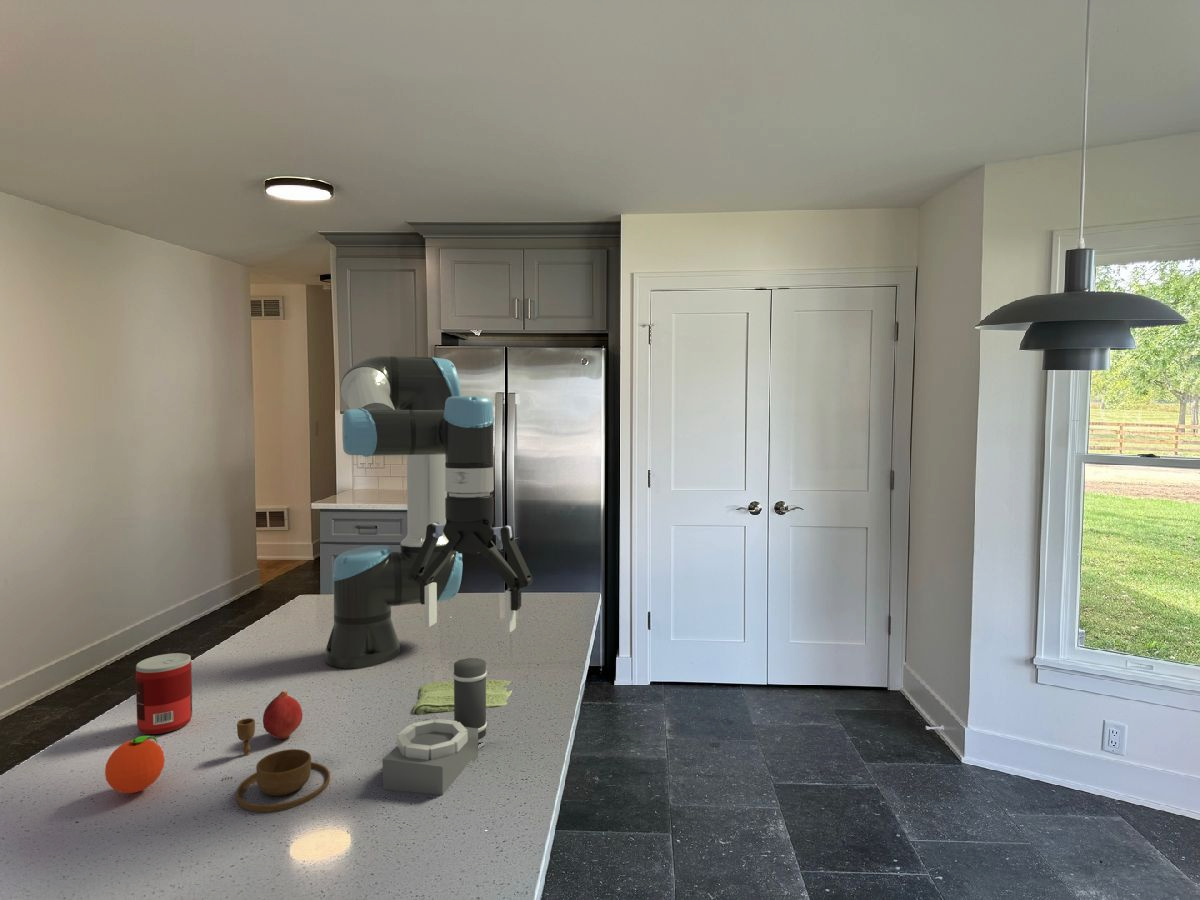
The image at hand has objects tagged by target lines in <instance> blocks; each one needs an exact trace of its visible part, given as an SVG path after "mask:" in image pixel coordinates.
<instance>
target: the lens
mask: <svg viewBox="0 0 1200 900" xmlns="http://www.w3.org/2000/svg"><path fill="white" fill-rule="evenodd" d="M487 673H488V671H487V661H486V660H484V659H482V658H478V657H468V658H467V657H466V658H462V659H458V660H457V661H455V662H454V663H453V673H452V675H453V676H452V677H453V682H454V711H453V714H454V717H453V718H454V719H453V721H457V722H460V723H461V724H462V725H463V726H464V727H470V728H478V741H479V740H481V739H483V738H484V737H485V736H486V735H487V708H486V679H487V675H488V674H487ZM483 742H484V741H481V742H478V745H479V744H481V743H483Z"/></svg>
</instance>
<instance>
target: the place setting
mask: <svg viewBox="0 0 1200 900" xmlns="http://www.w3.org/2000/svg"><path fill="white" fill-rule="evenodd" d="M236 726H237V727H236V730H237V731H236V732H237V737H238V739H239V740H240V741H242V742H243V746H242V752H243V753H244V754H243V755H242V756H243V757H248V756H250V752H251V751H250V750H251V745H250V740H251V739H253V737H254V735H255V732H256V721H255V719H254V718H252V717H251V718H250V717H248V718H243V719H241V720H238V721H237V724H236ZM255 767H256V771H255V772H254V773H252V774H251V775H249V776H248V777H246V778H245V779H244V780H242V782H241V783H240V784H239V785H238V787H237V788H236V794H235V795H236V797H235V798H236V800H237V803H238V804H239V806H240V807H242V808H243V809H244V810H246V811H249V812H254V813H273V812H280V811H284V810H288V809H291V808H295V807H298V806H301V805H303V804H306V803H307V802H309V801H311V800H313V799H315V798H316V797H317V796H319V795H320V794H322V793H323V792H324V790H325V791H326V789H327V787H328V785H329V783H330V781H331V772H330V771H329V769H328V767H326V766H325V765H323V764H320V763H317V762H312V756H311V754H310V752H308V751H306V750H304V749H298V748H297V749H296V748H295V749H293V748H291V749H284V750H279V751H276V752H273V753H270V754H267V755H266V756H264V757H263V758H261V759H260V760H259V761H258V762H257V763H256V766H255ZM312 769H316V770H319V771H320V772H322V773H324V774H325V776H326V780H325V782H324V783H323V784H322V785H321V786H320V787H319V788H317V789H316V790H315V791H313V792H311V793H309V794H308V795H306V796H303V797H301V798H297V799H294V800H292V801H291V800H290V801H287V802H282V803H277V804H275V803H274V804H255V803H251V802H249V801H245V799H243V795H244V794H243V793H245V792H246V791H247V789H249V788H250V787H251V786H252V785H253V784H255V783H257V786H258V788H259V790H260V791H261V792H262V793H264V794H267V795H270V796H272V797H283V796H288V795H291V794H292V793H295V792H296V791H298V790H300V789H301V788H302V787H303V786H304V785H306V784H307V782H308V781H309V779H310V777H311V773H312V772H311V771H312ZM229 779H230V780H232V779H233V776H231V777H230V776H228V778H227V777H225V779H224V778H222V780H221V782H223V781H226V780H227V781H228V780H229ZM251 784H252V785H251ZM250 785H251V786H250Z"/></svg>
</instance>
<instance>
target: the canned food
mask: <svg viewBox="0 0 1200 900" xmlns="http://www.w3.org/2000/svg"><path fill="white" fill-rule="evenodd" d="M191 657H192V656H191V655H190V654H187V653H181V652H177V653H175V652H174V653H173V652H172V653H166V654H160V655H155V656H152V657H148V658H145V659H143V660H140V661H139V662H137V664H135V696H136V697H135V698H136V699H135V700H136V701H135V702H136V724H137V725H136V726H137V728H138V731H139V732H140V733H142V734H145V735H156V734H157V735H158V734H165V733H168V732H172V731H176V730H178V729H181V728H183V727H185V726H186V725H188V724H189V723H190V722H191V720H192V717H193V685H192V684H193V681H192V680H193V677H192V675H193V671H192V659H191Z"/></svg>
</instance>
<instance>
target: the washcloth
mask: <svg viewBox="0 0 1200 900" xmlns="http://www.w3.org/2000/svg"><path fill="white" fill-rule="evenodd" d="M511 683H512V682H511V681H510V680H504V679H503V680H500V679H487V678H486V709H493V708H500V707H504V706H507V705H508V702H507V700H508V699H509V698H510V695H511V694H512V692H513V690H509V691H507V690H508V687H504V686H509V685H510V684H511ZM418 694H419V695H418V696H417V697H418V700H417V701H416V702H415V704H414V706H413V709H412V714H416V715H426V714H430V713H431V714H433V713H434V714H435V713H436V714H437V713H445V712H448V713H449V712H453V713H454V680H453V681H448V680H447V681H432V682H430V683H426V684H423V685H422V686H421V687H420V688H419V692H418Z"/></svg>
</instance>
